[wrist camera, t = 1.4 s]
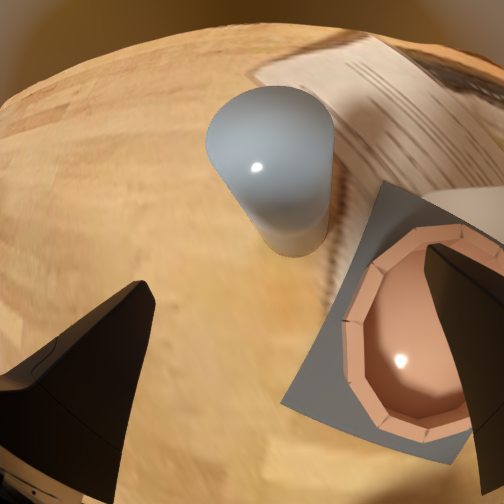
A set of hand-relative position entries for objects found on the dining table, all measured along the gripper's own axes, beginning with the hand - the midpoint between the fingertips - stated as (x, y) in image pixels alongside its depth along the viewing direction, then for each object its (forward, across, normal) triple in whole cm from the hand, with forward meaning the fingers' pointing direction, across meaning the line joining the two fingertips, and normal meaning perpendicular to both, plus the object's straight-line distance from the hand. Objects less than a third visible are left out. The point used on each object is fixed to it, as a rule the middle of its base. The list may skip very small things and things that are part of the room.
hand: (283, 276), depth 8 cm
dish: (+5, -10, +11) cm, 15 cm away
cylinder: (+12, 0, +5) cm, 13 cm away
